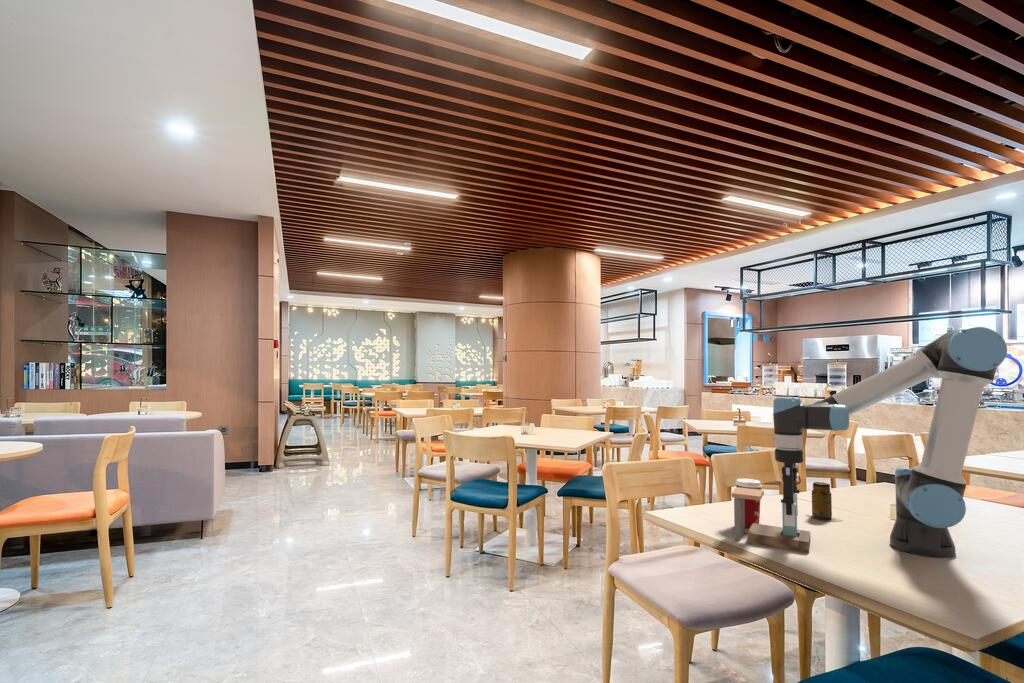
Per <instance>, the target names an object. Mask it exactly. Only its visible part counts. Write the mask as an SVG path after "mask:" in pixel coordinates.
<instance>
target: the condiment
mask: <svg viewBox="0 0 1024 683" xmlns="http://www.w3.org/2000/svg"><path fill="white" fill-rule="evenodd" d="M832 502H833V500H832V492H831V484H830V483H827V482H824V481H823V482H821V481H814V482H812V490H811V513H812V514H806V516H807V517H810V518H812V519H817V520H819V521H822V522H826V523H827V522H841V521H842V520H841V519H838V518H836V517H833V513H832V512H833V511H832V509H833V508H832Z"/></svg>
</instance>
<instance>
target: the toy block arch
mask: <svg viewBox="0 0 1024 683" xmlns="http://www.w3.org/2000/svg"><path fill="white" fill-rule="evenodd" d="M764 494H765V490H764V489H761V490H758V489H749V488H740V487H735V488H734V490H733V491H732V492H731V498H733V503H734V505H733V508H734V510H733V512H734V516H733V517H734V540H735V541H742V534H745V533H746V528H745V508H744V499H751V500H759V501H760V502H761V500H762V499H763V496H764Z"/></svg>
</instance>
